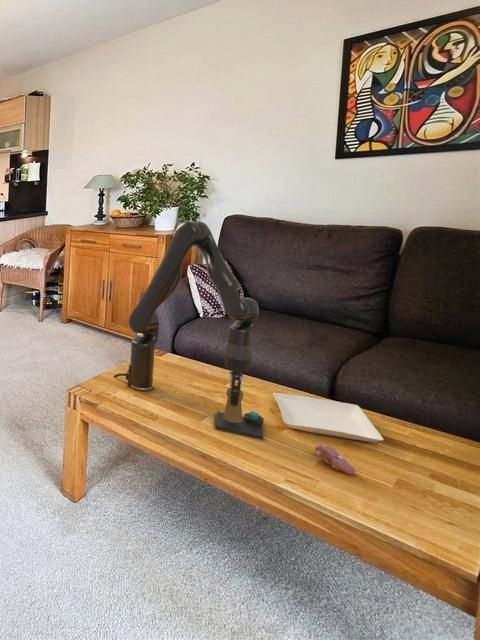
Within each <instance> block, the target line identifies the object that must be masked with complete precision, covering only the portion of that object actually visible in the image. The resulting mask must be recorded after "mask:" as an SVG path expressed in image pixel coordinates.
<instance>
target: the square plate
mask: <svg viewBox="0 0 480 640" xmlns="http://www.w3.org/2000/svg"><path fill="white" fill-rule="evenodd" d="M272 396H273V398H274V400H275V401H276V403H277V405H278V408H279V411H280V414H281V418H282V421H283V423H284V424H285V425H286V426H287V427H288V428H290V429H294V430H299V431H302V432H307V433H312V434H317V435H323V436H330V437H335V438H340V439H346V440H351V441H362V442H367V443H378V442H382V441H384V437H383V436H382V434H381V433H380V432H379V431H378V429H377V428H376V427H375V426H374V423H372V421H371V420H370V419H369V418H368V416H367V415H366V413H365V412H364V411H363V409H362V408H361V407H360V406H359V405H358V404H353V403H348V402H342V401H335V400H329V399H324V398H316V397H309V396H304V395H303V396H302V395H297V394H294V395H293V394H288V393H279V392H272Z"/></svg>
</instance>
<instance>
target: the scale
mask: <svg viewBox="0 0 480 640" xmlns="http://www.w3.org/2000/svg"><path fill="white" fill-rule="evenodd" d="M223 414H224V412H221V411H216V420H215V430H217V431H222V432H226V433H230V434H235V435H238V436H239V435H240V436H244V437H247V438H248V437H249V438H253V439H256V440H257V439H258V440H260V441H261V440H262V441H263V439H264V433H263V425H264V422H265V421H264V420H265V419H264V417H262V415H259V419H258V420H255V419H251V418H249V412H246V413H244V414H243V416H242V422H240V423H233V422H229V421H227V420H225V419H224V418H223Z"/></svg>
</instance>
